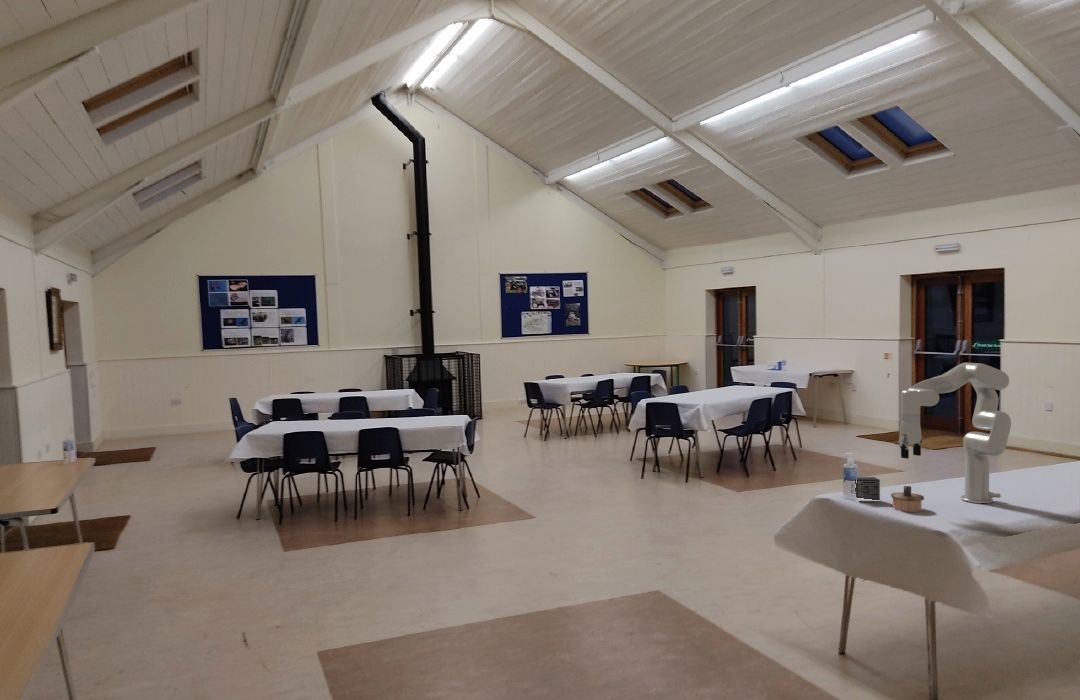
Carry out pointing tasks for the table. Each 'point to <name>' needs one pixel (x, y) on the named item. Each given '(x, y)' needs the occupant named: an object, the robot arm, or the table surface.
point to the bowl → (907, 505)
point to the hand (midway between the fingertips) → (910, 456)
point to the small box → (867, 488)
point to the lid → (907, 495)
